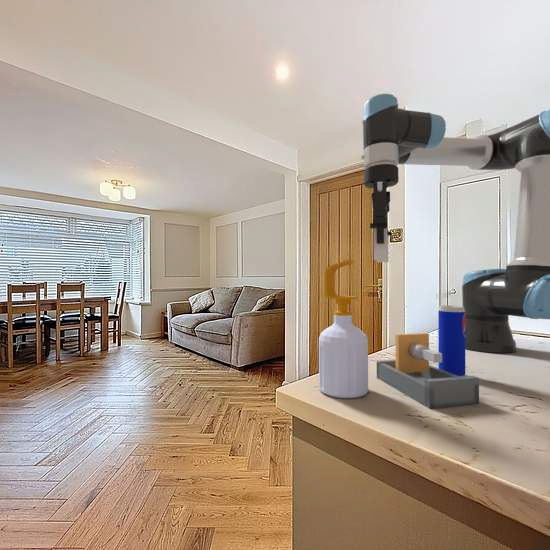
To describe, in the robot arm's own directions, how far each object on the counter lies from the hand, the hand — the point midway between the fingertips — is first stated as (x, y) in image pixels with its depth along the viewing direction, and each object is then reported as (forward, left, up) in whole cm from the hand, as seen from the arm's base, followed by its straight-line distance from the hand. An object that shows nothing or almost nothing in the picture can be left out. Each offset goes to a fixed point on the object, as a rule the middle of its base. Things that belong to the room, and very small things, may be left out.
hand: (381, 261), depth 76 cm
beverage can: (-13, +6, -25) cm, 29 cm away
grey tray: (-1, +13, -25) cm, 28 cm away
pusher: (-1, +13, -22) cm, 26 cm away
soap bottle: (+14, +10, -25) cm, 30 cm away
